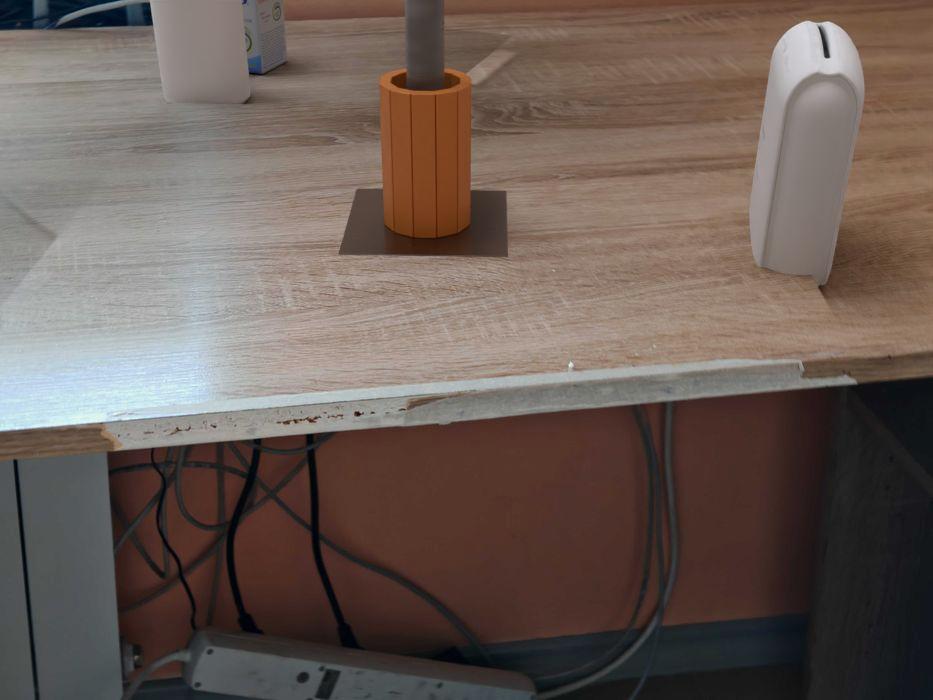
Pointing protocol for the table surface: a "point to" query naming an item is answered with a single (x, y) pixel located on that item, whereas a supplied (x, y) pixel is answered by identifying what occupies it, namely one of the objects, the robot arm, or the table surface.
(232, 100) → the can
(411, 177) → the ring sleeve
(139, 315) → the table surface
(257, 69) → the medicine box
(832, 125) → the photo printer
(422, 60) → the post stand
